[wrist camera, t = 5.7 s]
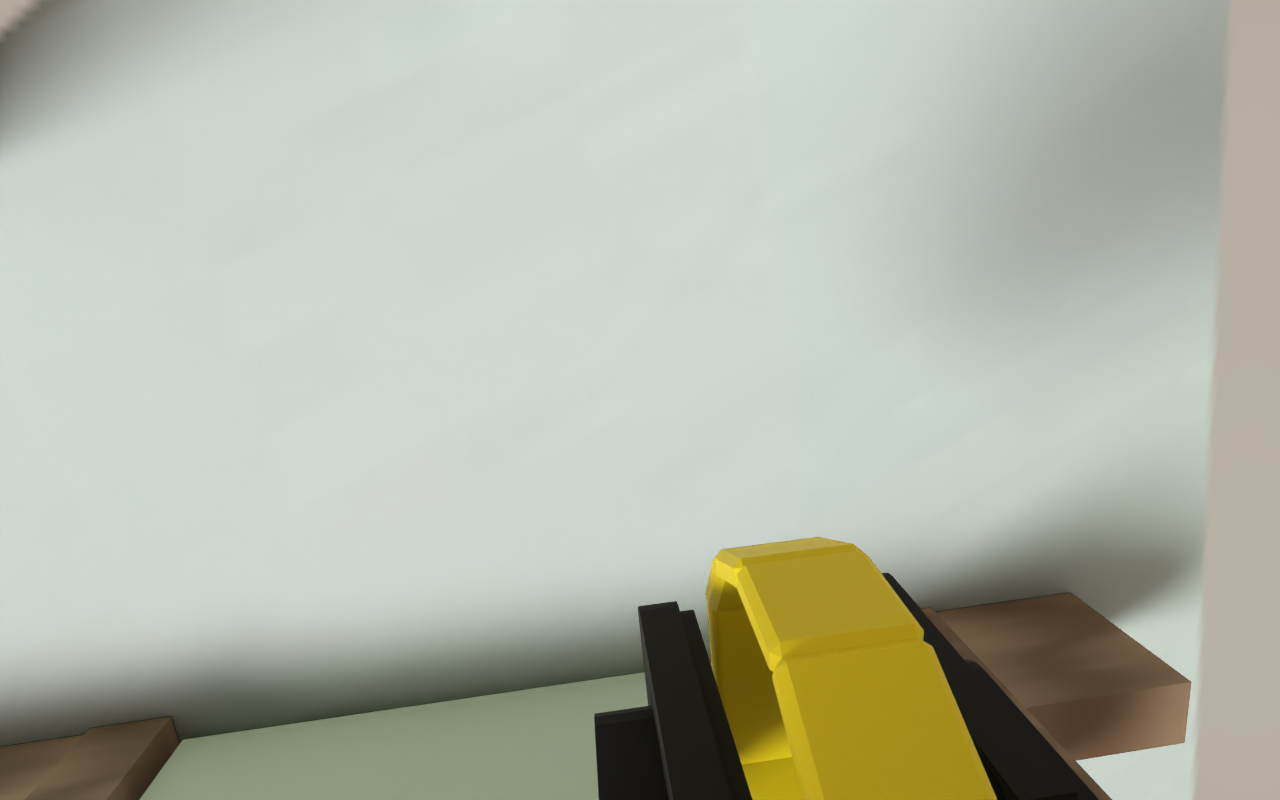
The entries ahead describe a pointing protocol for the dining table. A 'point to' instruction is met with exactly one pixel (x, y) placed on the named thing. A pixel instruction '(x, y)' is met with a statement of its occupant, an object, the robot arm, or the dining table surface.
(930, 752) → the watch
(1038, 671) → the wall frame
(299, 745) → the pale green flat bar
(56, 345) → the dining table surface
